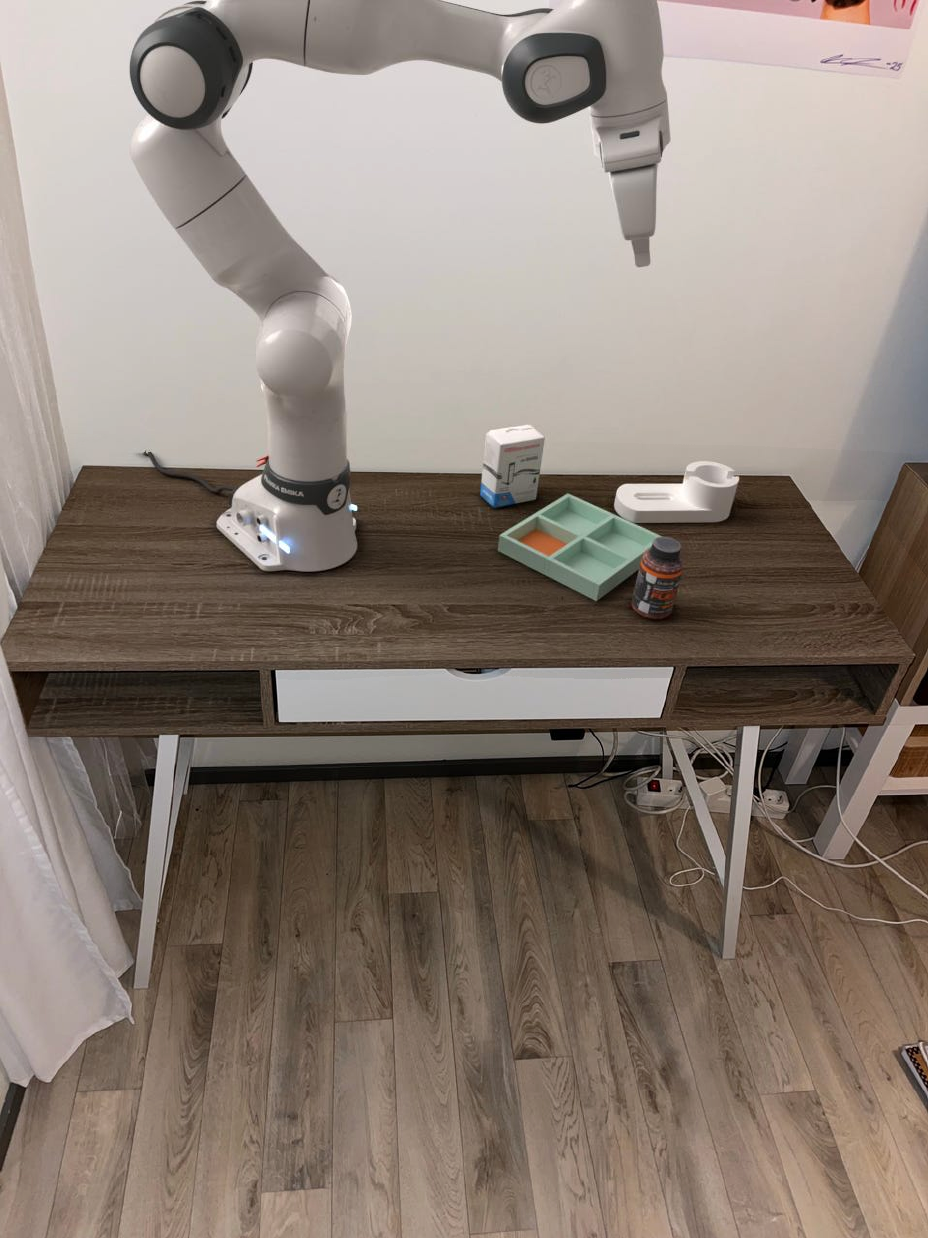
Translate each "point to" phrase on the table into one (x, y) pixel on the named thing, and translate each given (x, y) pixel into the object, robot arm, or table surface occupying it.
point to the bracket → (681, 497)
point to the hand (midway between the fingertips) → (642, 250)
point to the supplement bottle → (658, 579)
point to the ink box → (511, 465)
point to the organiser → (578, 545)
